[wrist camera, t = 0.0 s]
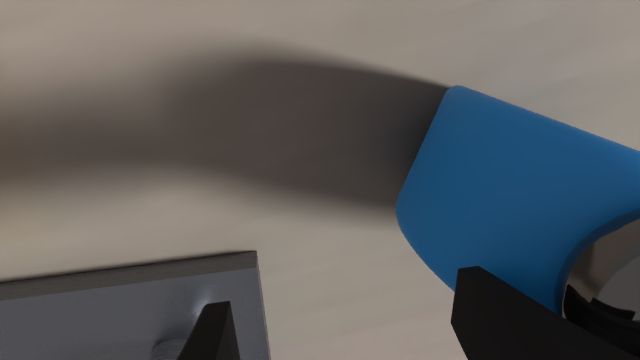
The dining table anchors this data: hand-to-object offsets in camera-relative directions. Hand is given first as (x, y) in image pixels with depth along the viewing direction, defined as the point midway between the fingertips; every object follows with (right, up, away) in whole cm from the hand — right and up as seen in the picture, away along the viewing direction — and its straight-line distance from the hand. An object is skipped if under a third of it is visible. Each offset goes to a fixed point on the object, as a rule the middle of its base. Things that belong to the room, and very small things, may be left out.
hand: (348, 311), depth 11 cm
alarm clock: (+8, +5, +11) cm, 14 cm away
